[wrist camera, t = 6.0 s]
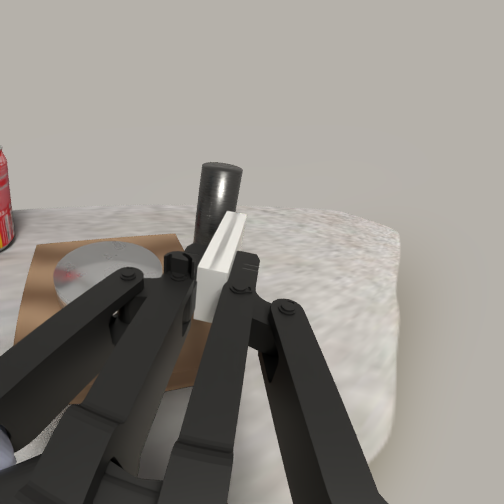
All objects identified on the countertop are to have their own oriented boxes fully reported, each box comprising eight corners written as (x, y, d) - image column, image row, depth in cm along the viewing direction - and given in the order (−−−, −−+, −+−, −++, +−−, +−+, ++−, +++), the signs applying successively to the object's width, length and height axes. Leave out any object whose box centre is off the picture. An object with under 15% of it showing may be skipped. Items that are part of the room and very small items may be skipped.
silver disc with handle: (38, 308, 17) (11, 167, 12) (88, 251, 25) (84, 140, 20) (211, 354, 18) (236, 192, 13) (225, 277, 26) (246, 157, 21)
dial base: (40, 260, 25) (36, 243, 24) (174, 249, 33) (175, 232, 32) (21, 406, 12) (7, 388, 11) (239, 374, 20) (244, 355, 19)
